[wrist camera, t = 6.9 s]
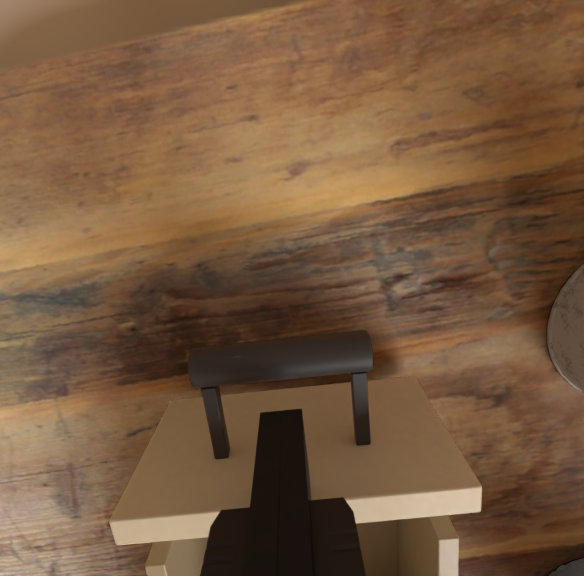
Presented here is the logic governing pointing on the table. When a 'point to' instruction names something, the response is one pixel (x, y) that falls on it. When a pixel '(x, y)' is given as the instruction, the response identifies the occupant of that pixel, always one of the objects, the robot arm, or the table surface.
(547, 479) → the table surface
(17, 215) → the table surface
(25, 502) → the table surface
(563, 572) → the grey green cup
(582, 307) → the unlabelled tin can
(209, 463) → the drawer
